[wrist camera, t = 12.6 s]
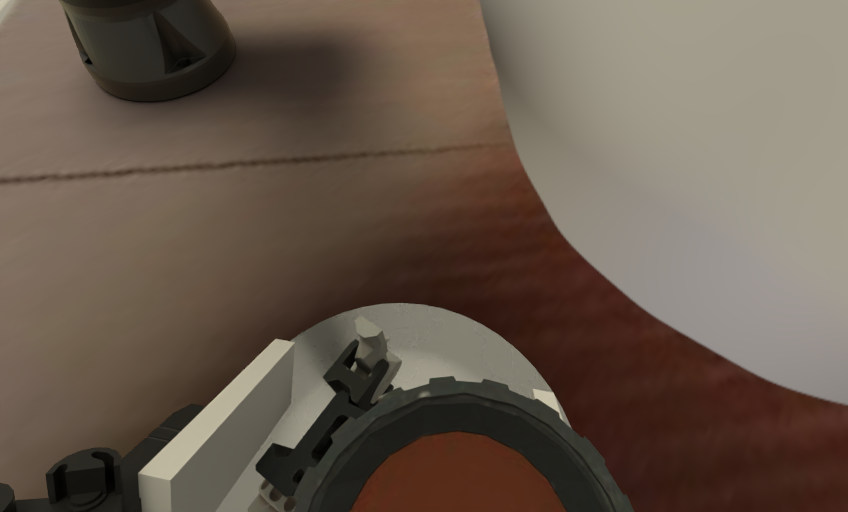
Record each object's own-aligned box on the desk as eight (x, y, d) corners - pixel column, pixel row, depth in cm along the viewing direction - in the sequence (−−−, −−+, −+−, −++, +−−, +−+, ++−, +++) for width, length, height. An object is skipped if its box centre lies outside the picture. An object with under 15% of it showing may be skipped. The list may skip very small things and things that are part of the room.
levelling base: (261, 317, 31) (245, 299, 28) (544, 323, 32) (558, 306, 29) (171, 728, 21) (129, 771, 17) (601, 728, 21) (634, 770, 18)
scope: (329, 180, 9) (820, 471, 6) (377, 355, 21) (552, 480, 18) (-67, 559, 6) (641, 1534, 3) (262, 508, 18) (457, 688, 15)
